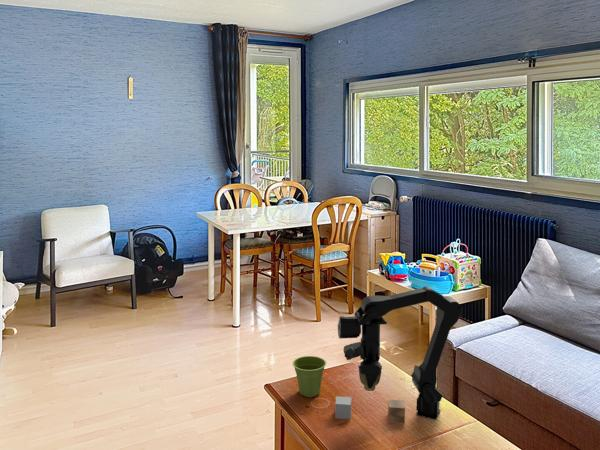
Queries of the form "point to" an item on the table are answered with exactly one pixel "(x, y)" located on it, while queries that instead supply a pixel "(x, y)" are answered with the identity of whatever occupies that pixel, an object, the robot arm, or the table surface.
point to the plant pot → (309, 374)
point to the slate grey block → (343, 407)
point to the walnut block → (396, 411)
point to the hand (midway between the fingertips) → (369, 383)
